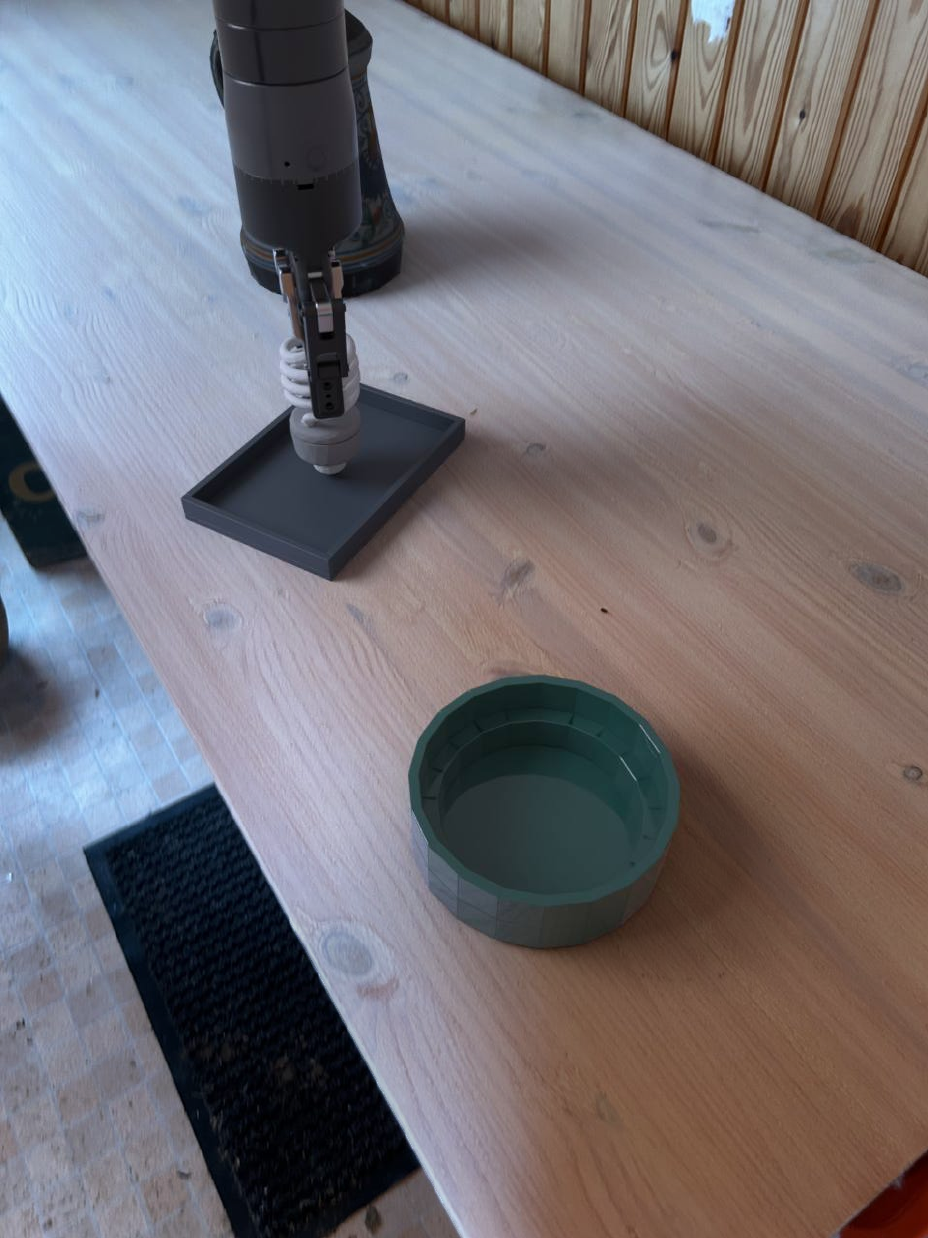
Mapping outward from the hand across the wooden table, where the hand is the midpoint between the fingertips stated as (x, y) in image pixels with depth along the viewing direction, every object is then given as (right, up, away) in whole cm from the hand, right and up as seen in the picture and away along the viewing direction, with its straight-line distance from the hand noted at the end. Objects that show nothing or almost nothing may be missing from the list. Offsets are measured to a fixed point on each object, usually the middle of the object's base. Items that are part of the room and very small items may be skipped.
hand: (321, 390), depth 70 cm
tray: (0, -5, +6) cm, 8 cm away
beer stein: (-5, +20, +30) cm, 37 cm away
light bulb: (0, -5, +6) cm, 8 cm away
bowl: (+14, -28, -15) cm, 35 cm away
